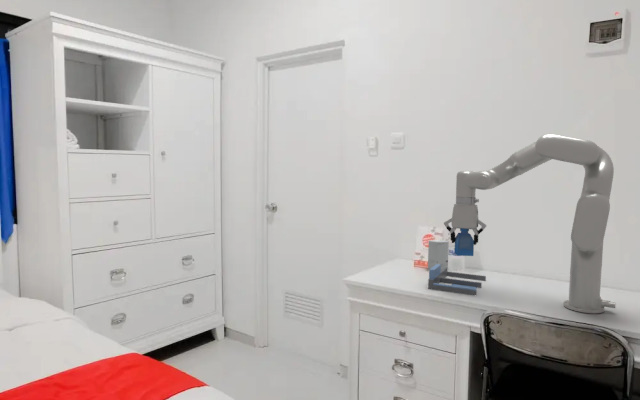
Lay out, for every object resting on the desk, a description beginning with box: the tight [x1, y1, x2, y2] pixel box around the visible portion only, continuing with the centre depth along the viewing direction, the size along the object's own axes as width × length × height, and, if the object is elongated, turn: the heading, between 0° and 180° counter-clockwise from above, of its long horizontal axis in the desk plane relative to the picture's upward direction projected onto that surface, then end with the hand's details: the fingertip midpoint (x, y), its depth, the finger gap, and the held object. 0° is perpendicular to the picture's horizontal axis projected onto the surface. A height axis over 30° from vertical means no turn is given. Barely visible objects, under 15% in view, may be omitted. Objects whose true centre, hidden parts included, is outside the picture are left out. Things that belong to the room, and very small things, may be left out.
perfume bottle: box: [454, 229, 475, 257], centre depth 177 cm, size 6×6×12 cm
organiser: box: [427, 264, 487, 296], centre depth 186 cm, size 19×27×8 cm
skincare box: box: [427, 239, 449, 271], centre depth 211 cm, size 8×6×15 cm
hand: (464, 243), depth 177 cm, fingers closed on perfume bottle, 8 cm apart
